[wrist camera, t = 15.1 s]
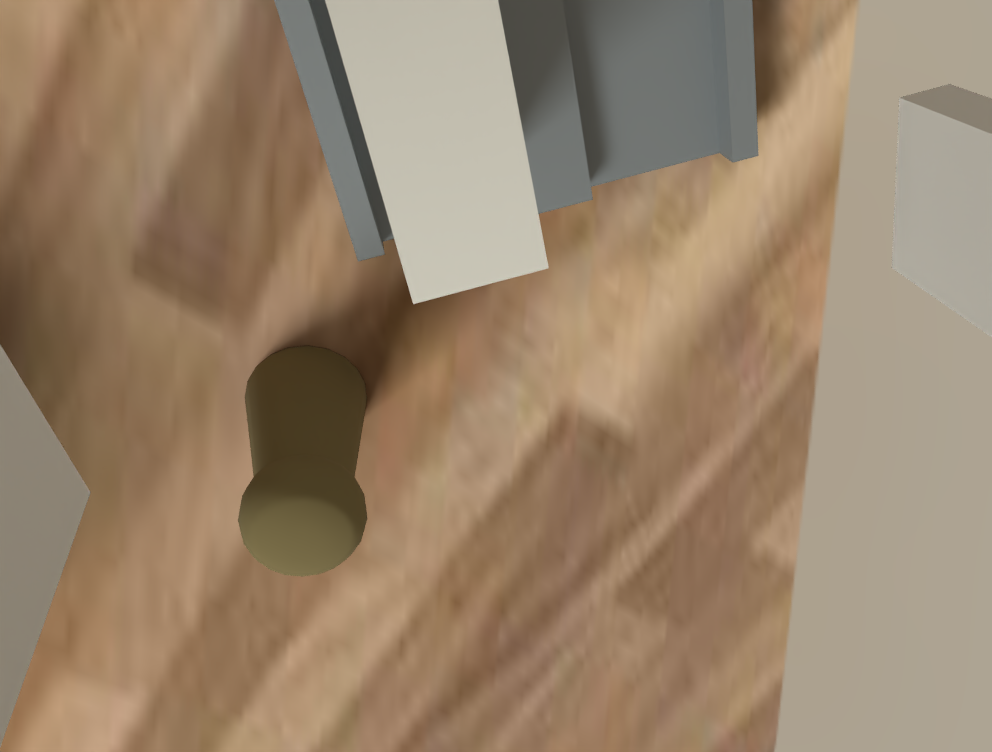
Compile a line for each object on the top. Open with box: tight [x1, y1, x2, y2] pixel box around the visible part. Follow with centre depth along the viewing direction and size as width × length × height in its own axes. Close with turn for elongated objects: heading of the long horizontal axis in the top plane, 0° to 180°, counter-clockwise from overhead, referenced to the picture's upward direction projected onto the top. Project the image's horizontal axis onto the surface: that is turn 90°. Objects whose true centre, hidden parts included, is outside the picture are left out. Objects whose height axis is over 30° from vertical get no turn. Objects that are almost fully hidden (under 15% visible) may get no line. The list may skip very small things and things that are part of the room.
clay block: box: [325, 0, 548, 304], centre depth 29 cm, size 4×14×12 cm, turn 11°
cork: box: [238, 346, 367, 576], centre depth 39 cm, size 6×6×11 cm
